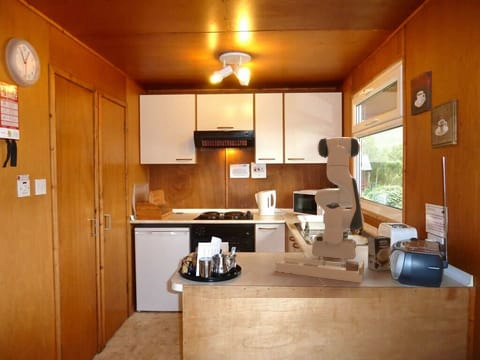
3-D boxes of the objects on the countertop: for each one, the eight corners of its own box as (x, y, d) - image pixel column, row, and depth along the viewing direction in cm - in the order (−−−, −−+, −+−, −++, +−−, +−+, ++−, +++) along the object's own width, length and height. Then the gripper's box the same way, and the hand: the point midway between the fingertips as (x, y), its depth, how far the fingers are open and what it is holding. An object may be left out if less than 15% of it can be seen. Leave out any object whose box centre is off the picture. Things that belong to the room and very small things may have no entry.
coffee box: (375, 271, 166) (375, 238, 166) (367, 267, 172) (367, 236, 172) (391, 269, 169) (391, 237, 168) (382, 266, 175) (382, 235, 174)
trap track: (284, 264, 179) (284, 252, 179) (364, 274, 161) (364, 260, 161) (276, 271, 167) (275, 258, 167) (361, 282, 150) (361, 268, 149)
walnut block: (347, 268, 161) (347, 260, 161) (358, 269, 159) (358, 261, 158) (345, 271, 156) (345, 263, 156) (357, 273, 154) (357, 264, 154)
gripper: (357, 238, 159) (357, 267, 159) (314, 234, 168) (314, 262, 168) (355, 240, 153) (355, 270, 154) (311, 237, 162) (311, 265, 163)
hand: (333, 266), depth 161 cm, fingers open, 8 cm apart
